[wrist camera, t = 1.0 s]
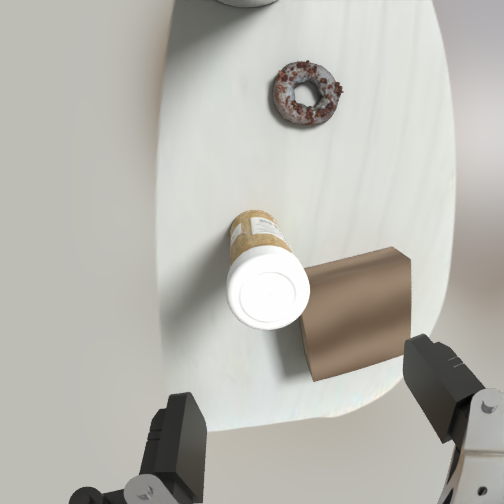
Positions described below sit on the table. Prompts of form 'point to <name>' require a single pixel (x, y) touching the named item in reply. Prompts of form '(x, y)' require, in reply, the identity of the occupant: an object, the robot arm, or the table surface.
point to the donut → (320, 79)
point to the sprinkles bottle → (264, 274)
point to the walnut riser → (356, 312)
